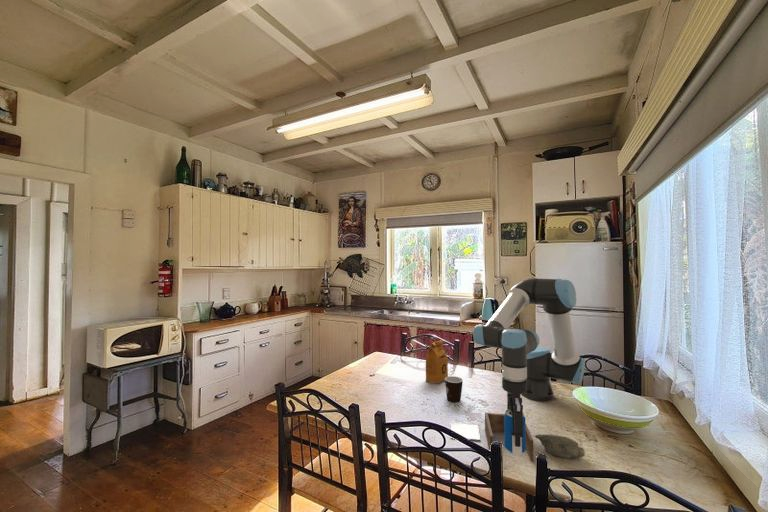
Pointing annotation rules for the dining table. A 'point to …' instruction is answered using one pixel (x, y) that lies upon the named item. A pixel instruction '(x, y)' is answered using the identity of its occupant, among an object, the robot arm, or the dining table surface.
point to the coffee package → (436, 363)
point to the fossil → (561, 446)
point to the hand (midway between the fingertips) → (514, 448)
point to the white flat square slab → (466, 430)
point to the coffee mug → (453, 388)
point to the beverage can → (509, 429)
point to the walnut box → (496, 424)
